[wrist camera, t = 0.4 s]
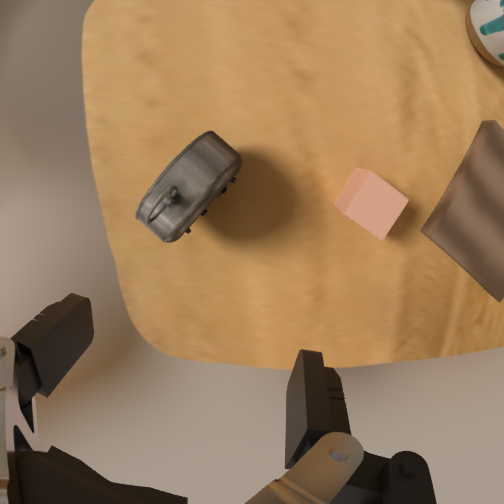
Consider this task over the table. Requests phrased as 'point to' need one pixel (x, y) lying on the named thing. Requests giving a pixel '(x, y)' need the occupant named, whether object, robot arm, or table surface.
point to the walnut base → (475, 211)
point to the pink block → (370, 202)
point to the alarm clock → (188, 186)
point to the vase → (487, 29)
